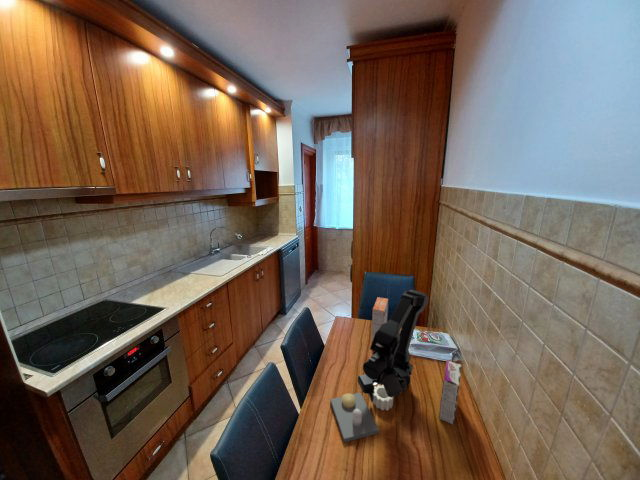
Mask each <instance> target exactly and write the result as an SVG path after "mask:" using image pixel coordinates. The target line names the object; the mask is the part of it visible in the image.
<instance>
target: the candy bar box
mask: <svg viewBox="0 0 640 480" xmlns="http://www.w3.org/2000/svg"><path fill="white" fill-rule="evenodd" d="M461 373H462V364H460V363H457V362H454V361H451V360H449V359H448V360H446V363H445V369H444V374H443V382H442V389H441V395H440V396H441V397H440V405H439V416H438V418H439V420H441V421H444V422H446V423H448V424H450V425H451V426H452V425H453V426H454V425H455V420H456V419H455V418H456V414H457V407H458V398H459V392H460V391H459V390H460V384H461V376H462V375H461Z"/></svg>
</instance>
